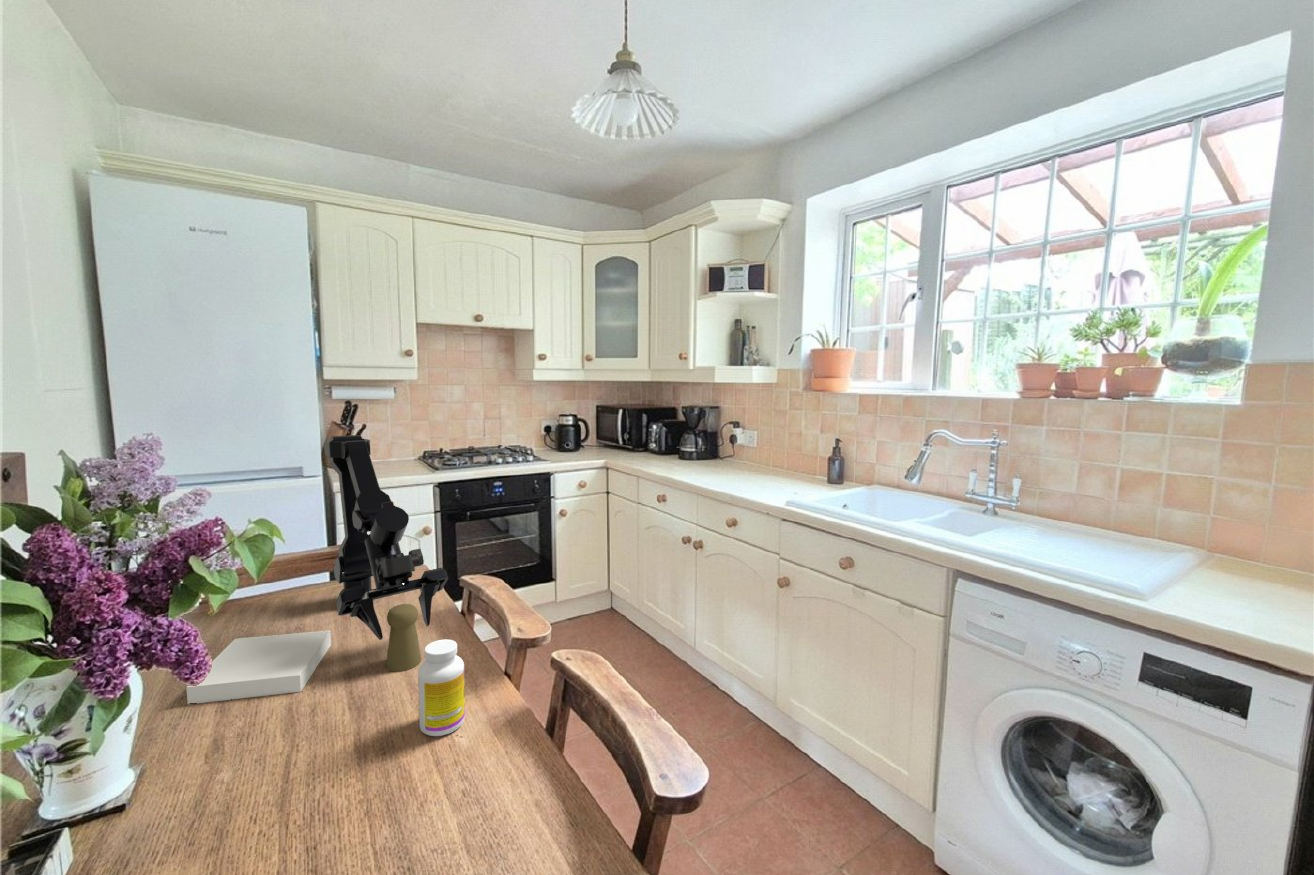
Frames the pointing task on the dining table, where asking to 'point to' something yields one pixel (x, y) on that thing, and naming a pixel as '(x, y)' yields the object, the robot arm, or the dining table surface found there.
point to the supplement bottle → (441, 689)
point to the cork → (403, 638)
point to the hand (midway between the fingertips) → (405, 632)
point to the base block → (262, 667)
